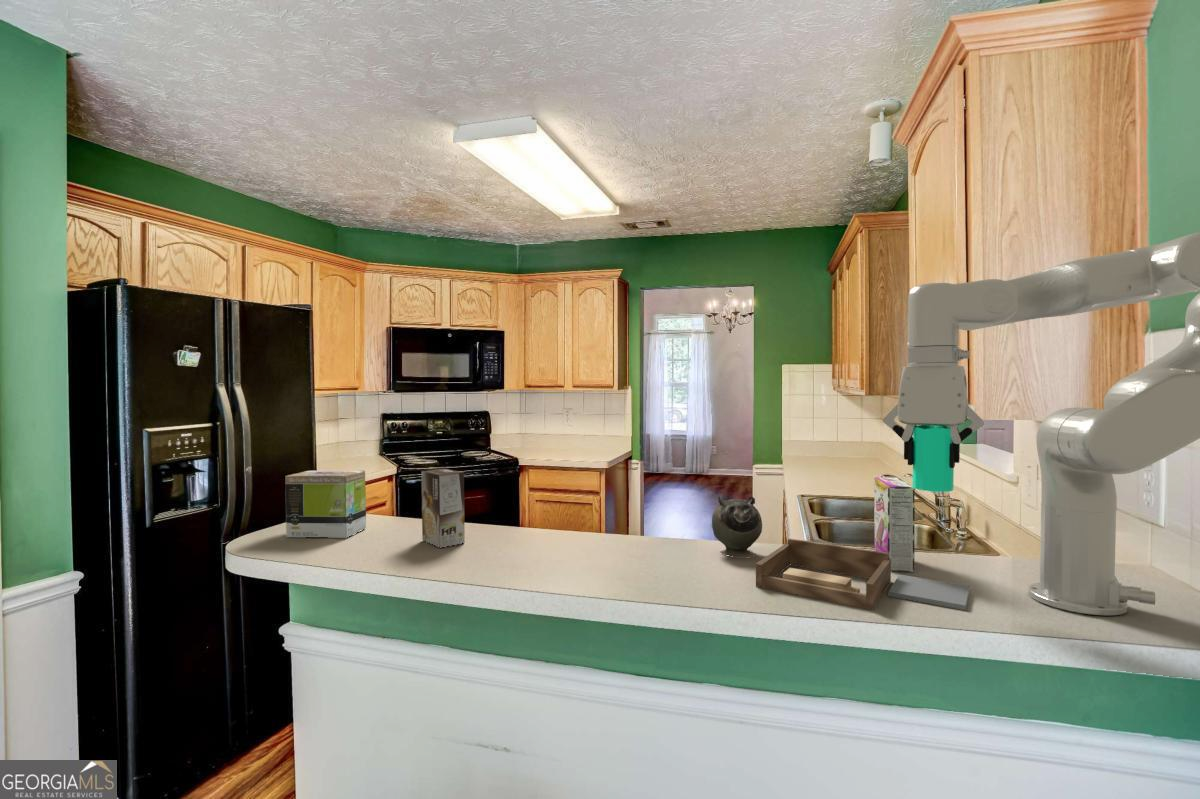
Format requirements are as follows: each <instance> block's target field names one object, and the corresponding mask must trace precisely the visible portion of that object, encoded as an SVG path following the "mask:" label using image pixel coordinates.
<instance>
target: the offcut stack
mask: <svg viewBox="0 0 1200 799" xmlns="http://www.w3.org/2000/svg"><path fill="white" fill-rule="evenodd" d="M782 579H788V580H793V581H798V582H804V583H809V584H814V585H820V586H825V587H831V588H836V589H841V590H847V591H852V592H857V593H861V588H860V587H854V586H852V578H851V577H846V576H840V575H835V574H829V573H822V572H816V571H812V570H811V571H810V570H805V569H799V568H793V567H788V569H787V570H785V571H784V572H783V573H782Z"/></svg>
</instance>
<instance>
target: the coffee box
mask: <svg viewBox="0 0 1200 799" xmlns="http://www.w3.org/2000/svg"><path fill="white" fill-rule="evenodd" d="M420 472H421V473H420V474H421V525H422V526H421V527H422V528H421V530H422V531H421V532H422V535H421V536H422V537H421V538H422V540H424V541H426V542H425V543H427V542H428V543H427V544H429V543H430V545H432V544H433V545H432V546H434V545H435V547H437V548H439V547H440V548H439V549H443V548H442V547H444V548H448V547H447V546H449V547H453V546H452V545H454V546H458V545H457V544H459V545H463V544H462V543H464V544H465V534H466V533H465V472H463V471H459V470H454V469H449V468H438V469H437V468H436V469H429V470H421V471H420ZM424 541H423V542H424Z"/></svg>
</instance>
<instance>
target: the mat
mask: <svg viewBox="0 0 1200 799" xmlns="http://www.w3.org/2000/svg"><path fill="white" fill-rule="evenodd" d="M970 591H971V586H970V585H967V584H960V583H953V582H947V581H941V580H940V581H939V580H935V579H931V578H930V579H929V578H925V577H924V578H923V577H917V576H911V575H904V574H898V576H897V577H896V578H895V580H894V582H893V583H892V586H891V587H890V589H889V590H888V597H890V598H895V597H897V598H896V599H900V598H903V599H902V600H906V599H908V601H911V600H914V601H913V602H917V601H920V602H919V603H922V602H925V603H924V604H927V603H929V605H934V606H940V607H945V608H951V609H955V610H961V611H966V610H967V606H968V601H969V596H970Z"/></svg>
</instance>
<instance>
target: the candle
mask: <svg viewBox="0 0 1200 799" xmlns="http://www.w3.org/2000/svg"><path fill="white" fill-rule="evenodd" d="M912 437H913V465H912V486H913V488H915V490H919V491H925V492H940V493H944V492H945V493H946V492H947V493H949V492H952V491H954V472H955V470H954V468H955V467H954V468H950V466H949V462H950V444H952V438H951V429H949V428H947V426H933V425H917V426H916V427H915V428H914V430H913V436H912Z"/></svg>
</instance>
